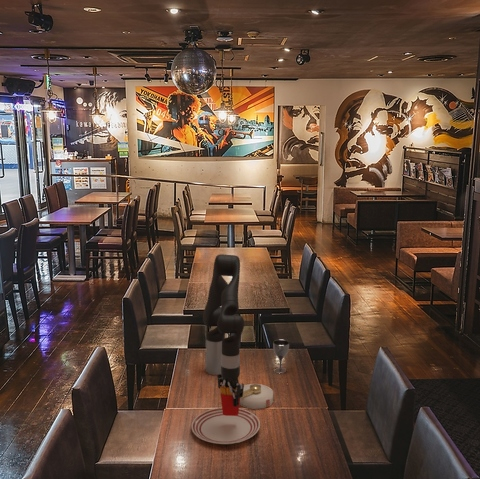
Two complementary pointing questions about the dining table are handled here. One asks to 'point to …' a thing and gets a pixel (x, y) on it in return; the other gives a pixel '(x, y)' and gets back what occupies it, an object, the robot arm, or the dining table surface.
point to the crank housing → (257, 398)
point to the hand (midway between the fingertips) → (230, 402)
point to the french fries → (228, 402)
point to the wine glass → (280, 352)
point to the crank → (252, 390)
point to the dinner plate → (225, 426)
